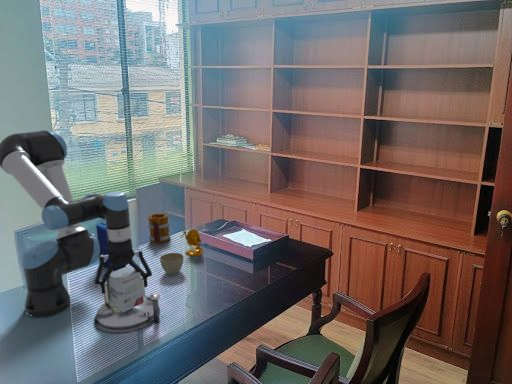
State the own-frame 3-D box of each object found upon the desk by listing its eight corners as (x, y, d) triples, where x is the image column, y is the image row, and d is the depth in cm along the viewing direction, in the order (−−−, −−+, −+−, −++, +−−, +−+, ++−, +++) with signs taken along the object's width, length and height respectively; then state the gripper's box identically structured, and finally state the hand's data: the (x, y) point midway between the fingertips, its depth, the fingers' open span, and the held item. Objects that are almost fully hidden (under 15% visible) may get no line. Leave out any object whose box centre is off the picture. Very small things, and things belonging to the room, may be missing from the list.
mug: (172, 235, 232) (170, 208, 228) (168, 247, 216) (165, 217, 212) (151, 236, 232) (148, 209, 228) (145, 248, 216) (143, 218, 212)
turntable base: (93, 339, 140) (90, 311, 138) (94, 306, 161) (91, 281, 158) (163, 325, 147) (161, 299, 145) (156, 296, 167) (154, 272, 165)
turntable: (130, 334, 141) (128, 315, 139) (84, 321, 149) (81, 303, 147) (168, 306, 158) (167, 288, 156) (125, 295, 166) (123, 278, 165)
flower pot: (179, 278, 182) (178, 262, 180) (157, 277, 184) (155, 261, 182) (188, 268, 191) (187, 253, 189) (166, 267, 193) (165, 251, 191)
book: (97, 266, 195) (92, 223, 190) (108, 262, 199) (103, 220, 194) (118, 274, 187) (113, 229, 182) (128, 270, 191) (124, 226, 186)
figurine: (180, 256, 205) (179, 231, 202) (193, 248, 214) (192, 224, 211) (196, 258, 201) (195, 233, 198) (208, 250, 211) (207, 226, 208)
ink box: (129, 296, 158) (126, 265, 155) (144, 303, 153) (141, 271, 150) (108, 305, 152) (104, 273, 149) (122, 313, 147) (119, 280, 144)
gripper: (81, 247, 140) (89, 309, 145) (157, 237, 147) (162, 297, 152) (82, 239, 146) (89, 299, 152) (154, 230, 154) (159, 288, 159)
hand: (125, 298), depth 152 cm, fingers closed on ink box, 11 cm apart
